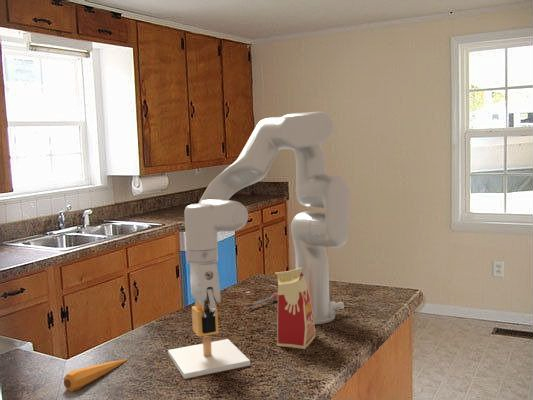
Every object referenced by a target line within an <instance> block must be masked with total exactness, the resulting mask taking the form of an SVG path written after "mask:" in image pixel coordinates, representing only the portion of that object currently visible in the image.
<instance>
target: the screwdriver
mask: <svg viewBox="0 0 533 400" xmlns="http://www.w3.org/2000/svg"><path fill="white" fill-rule="evenodd" d="M268 301H273V302H278V292H273V293H272V294H271V295H270V297H267V298H265V299H261V300H258V301H255V302H253V303H250V304H247V305H246V306H244V308H249V307H254V306H256V305H259V304H261V303H265V302H268Z"/></svg>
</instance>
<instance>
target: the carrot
mask: <svg viewBox="0 0 533 400" xmlns="http://www.w3.org/2000/svg"><path fill="white" fill-rule="evenodd" d="M128 360H129V359H127V358H126V359H121V360H120V359H119V360H115V361H113V360H112V361H109V362H105V363H101V364H95V365H91V366H87V367H82V368H78V369H74V370H70V371H69V372H68V373H67V374H66V375H65V376H64V377H63V385H64V387H65V390H66V391H69V392H75V391H79V390H80V389H82V388H84V387H85V386H87V385H89V384H91V383H93V382H94V381H96V380H97V379H99V378H101V377H103V376H105V375H106V374H108V373H110V372H111V371H113V370H115V369H116V368H118V367H119V366H120V365H122V364H124V363H125V362H128Z"/></svg>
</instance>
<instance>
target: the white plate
mask: <svg viewBox="0 0 533 400" xmlns="http://www.w3.org/2000/svg"><path fill="white" fill-rule="evenodd" d="M167 353H168V354H167V355H168V357H169V358H170V360H171V362H173V364H174V365H175V367H176V368H177V370H178V371H179V373H180V375H181V377H183V379H184V380H187V379H191V378H195V377H199V376H200V377H201V376H205V375H209V374H216V373H220V372H224V371H230V370H234V369H239V368H245V367H248V366H251V360H250V359H249V358H248V357H247V356H246V355H245V354H244V353H243V352H242V351H241V350H240V349H239V348H238V347H237V346H236V345H235V344H234V343H233V342H231V340H230V339H228V338H225V339H220V340H215V341H214V340H213V341H212V336H210V335H205V336H202V343H199V344H193V345H188V346H187V345H186V346H182V347H177V348H176V347H175V348H172V349H167Z"/></svg>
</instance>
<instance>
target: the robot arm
mask: <svg viewBox="0 0 533 400" xmlns="http://www.w3.org/2000/svg"><path fill="white" fill-rule="evenodd" d="M334 131H335V124H334V120H333V118H332V116H331V115H330V114H328V112H325V111H311V112H309V111H308V112H305V111H304V112H293V113H287V114H285V115H282V116H273V117H272V116H271V117H266V118H262V119H261V120H260V121H259V122H258V123H256V126H255V127H254V129H253V131H252V132H251V135H250V136H249V138H248V139H247V141H246V143H245V145H244V147H243V148H242V151H240V153H239V155H238V157H237V159H236V160H235V161H233V163H232V164H230V165H228V167H226V168H225V169H224V170H223V171H221V173H220V174H218V175H217V176H216V177H215V178H213V180H212V181H211V182H210V183H209V184H208V186H207V187H206V189H205V190H204V192H203V194H202V196H201V197H200V199H199V201H198V203H191V204H189V205H187V206H185V209H184V212H183V213H184V229H185V230H184V232H185V233H184V234H185V248H186V249H185V250H186V251H185V252H186V254H185V255H186V263H187V264H189V272H190V273H189V275H190V276H189V280H190V281H189V282H190V285H189V286H190V293H191V294H190V295H191V297H192V298H193V299H194V306H197V302H198V303H199V304H201V305H202V311H203V317H202V332H203V333H204V334H205V333H211V332H215V331H216V322H215V309H216V308H217V306H216V305H217V304H220V302H221V301H222V300H221V288H220V286H221V285H220V276H219V271H218V270H219V269H218V265H217V262H219V249H218V233H219V232H236V231H238V230H241V229H242V228H244V227H245V226H246V224H247V222H248V221H249V211H248V209H247V207H246V206H245V205H244V204H242V203H241V202H239V201H236V200H230V199H231V197H232V196H234V194H236V193H237V192H239V191H240V190H242V189H244V188H247V187H249V186H251V185H254V184H256V183H259V182H260V181H262V180H263V179H264V178H265V177H266V176H267V174H268V172H269V171H270V168H271V167H272V165H273V163H274V160H275V159H276V158H277V156H278V154H279V152H280V151H281V150H292V152H293V154H294V157H295V169H296V170H295V171H296V172H295V173H296V174H295V175H296V176H295V177H296V184H295V191H296V192H295V193H296V199H297V201H298V203H299V204H300V205H302V206H304V207H310V208H320V209H321V208H322V209H324V212H321V211H311V210H309V211H307V210H305V211H300V212H299V213H297V214H296V215H295V216H293V219H292V221H291V223H290V234H291V238H292V243H293V248H294V258H295V269H297V268H301V267H302V270H301V272H302V274H303V275H304V278H305V281H306V285H307V289H308V292H309V296H310V301H311V306H312V312H313V317H314V326H315V325H323V324H327V323H331V322H332V321H334V320H335V319H336V314H335V310H340V309H344V308H345V303H344V301H339V302H336V301H335V300H333V301H330V279H329V257H328V253H327V250H326V248H332V249H337V248H338V249H339V248H341V247H343V246H344V245H346V243H347V241H348V239H349V235H350V228H351V227H350V224H351V223H350V222H351V220H350V219H351V193H350V192H351V191H350V187H349V184H348V182H347V180H346V179H345V178H344V177H342V176H341V175H338V174H328V173H327V165H326V163H327V162H326V154H325V151H324V148H323V147H322V144H325V143H327V142H328V141H329V140H331V138H332V136H333V134H334ZM204 301H208V303H207V304H205V302H204ZM205 306H209V308H207V309H206V308H205Z"/></svg>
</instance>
